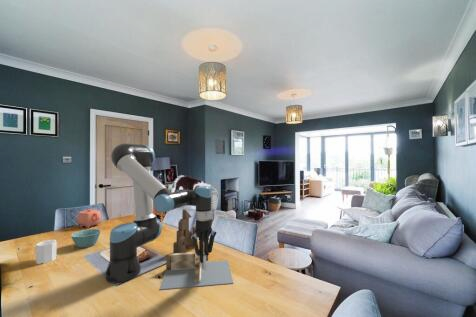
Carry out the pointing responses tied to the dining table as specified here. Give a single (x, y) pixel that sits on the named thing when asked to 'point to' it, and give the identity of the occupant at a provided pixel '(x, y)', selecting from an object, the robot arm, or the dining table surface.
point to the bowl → (86, 237)
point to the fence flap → (197, 268)
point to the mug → (45, 251)
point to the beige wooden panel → (180, 260)
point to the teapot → (89, 218)
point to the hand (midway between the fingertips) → (203, 268)
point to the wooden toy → (184, 234)
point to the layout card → (211, 276)
